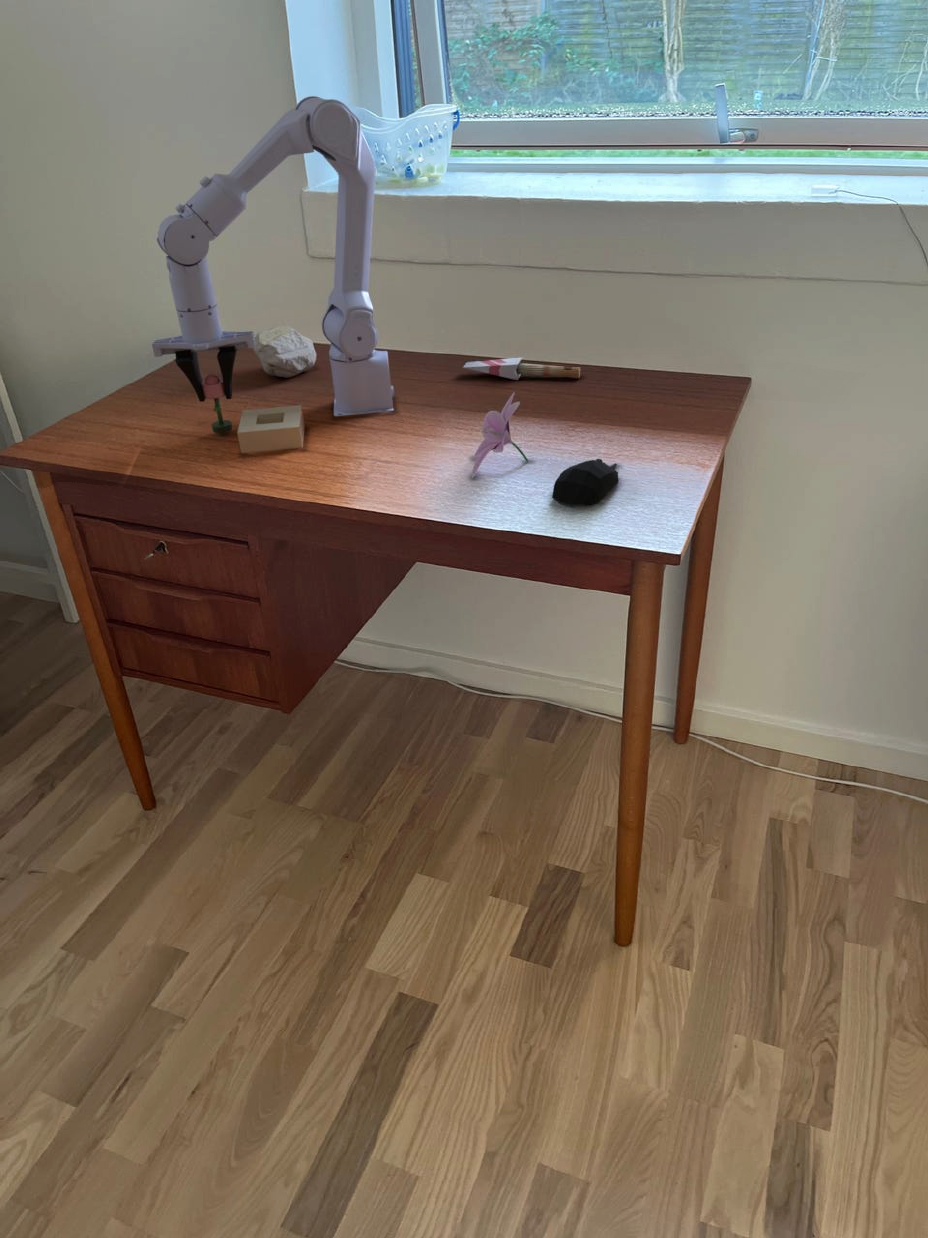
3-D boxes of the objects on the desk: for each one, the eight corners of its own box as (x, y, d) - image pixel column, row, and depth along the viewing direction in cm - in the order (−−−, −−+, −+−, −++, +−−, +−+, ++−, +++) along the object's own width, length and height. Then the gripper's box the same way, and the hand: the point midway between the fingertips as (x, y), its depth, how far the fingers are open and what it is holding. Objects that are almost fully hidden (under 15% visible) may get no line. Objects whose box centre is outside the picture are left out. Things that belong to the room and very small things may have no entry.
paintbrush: (467, 352, 161) (581, 361, 156) (467, 368, 162) (580, 377, 158) (461, 359, 158) (578, 368, 153) (461, 375, 159) (577, 384, 155)
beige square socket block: (305, 428, 144) (301, 404, 142) (303, 450, 137) (299, 426, 135) (247, 433, 144) (242, 410, 142) (242, 456, 136) (237, 432, 134)
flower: (234, 424, 144) (223, 369, 139) (232, 434, 140) (220, 378, 136) (212, 426, 144) (200, 371, 139) (209, 436, 140) (197, 380, 135)
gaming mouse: (637, 470, 125) (638, 442, 122) (587, 515, 115) (588, 486, 112) (594, 461, 128) (595, 434, 125) (543, 505, 118) (542, 476, 115)
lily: (495, 447, 136) (461, 397, 131) (564, 426, 130) (531, 373, 124) (473, 504, 130) (435, 454, 124) (544, 485, 123) (508, 432, 117)
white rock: (329, 363, 171) (279, 367, 173) (320, 317, 167) (269, 322, 169) (306, 381, 160) (253, 385, 163) (296, 332, 156) (242, 337, 159)
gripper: (140, 318, 128) (163, 412, 136) (245, 309, 129) (262, 402, 137) (148, 305, 134) (170, 395, 142) (249, 296, 135) (265, 386, 143)
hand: (215, 398), depth 140 cm, fingers closed on flower, 3 cm apart
